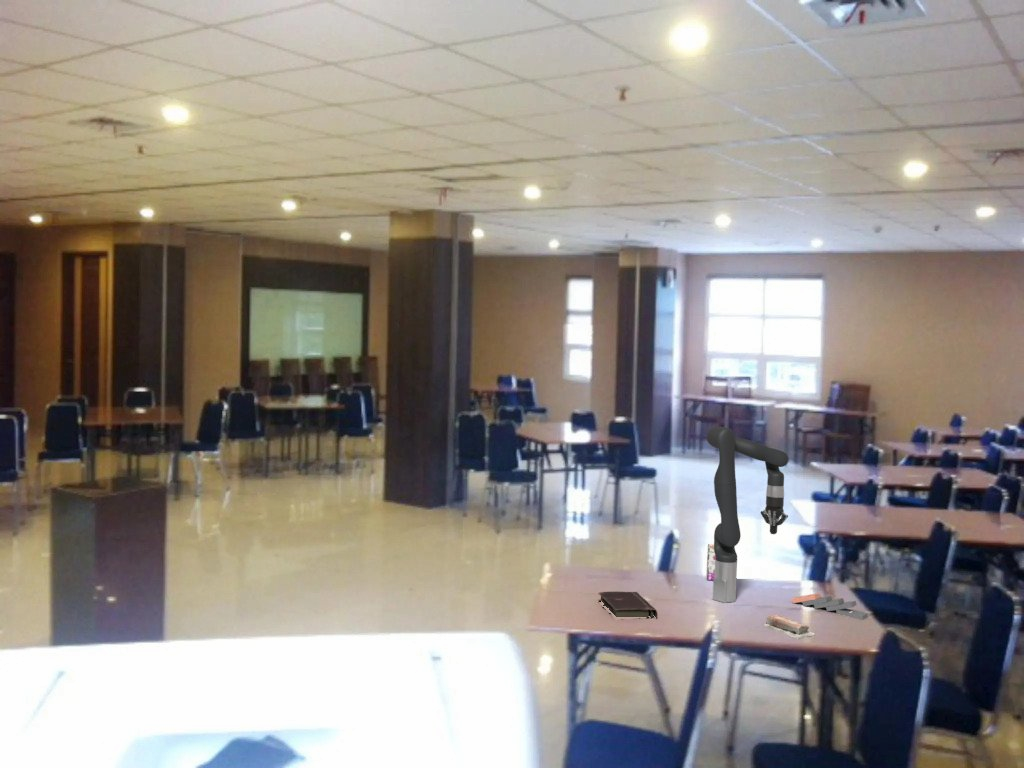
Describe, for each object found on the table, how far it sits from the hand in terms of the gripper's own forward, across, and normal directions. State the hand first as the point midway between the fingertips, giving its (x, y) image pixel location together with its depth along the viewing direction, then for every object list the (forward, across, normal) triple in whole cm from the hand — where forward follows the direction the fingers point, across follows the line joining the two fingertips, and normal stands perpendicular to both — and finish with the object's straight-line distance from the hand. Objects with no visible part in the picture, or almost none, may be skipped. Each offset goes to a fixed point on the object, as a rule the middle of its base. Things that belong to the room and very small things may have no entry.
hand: (773, 533), depth 419 cm
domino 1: (+26, +14, -3) cm, 30 cm away
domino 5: (+26, +34, -2) cm, 43 cm away
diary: (+28, -25, -69) cm, 79 cm away
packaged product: (+28, +32, -41) cm, 59 cm away
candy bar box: (+27, -28, +1) cm, 39 cm away
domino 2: (+26, +19, -3) cm, 32 cm away
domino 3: (+26, +24, -3) cm, 35 cm away
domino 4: (+26, +29, -2) cm, 39 cm away
